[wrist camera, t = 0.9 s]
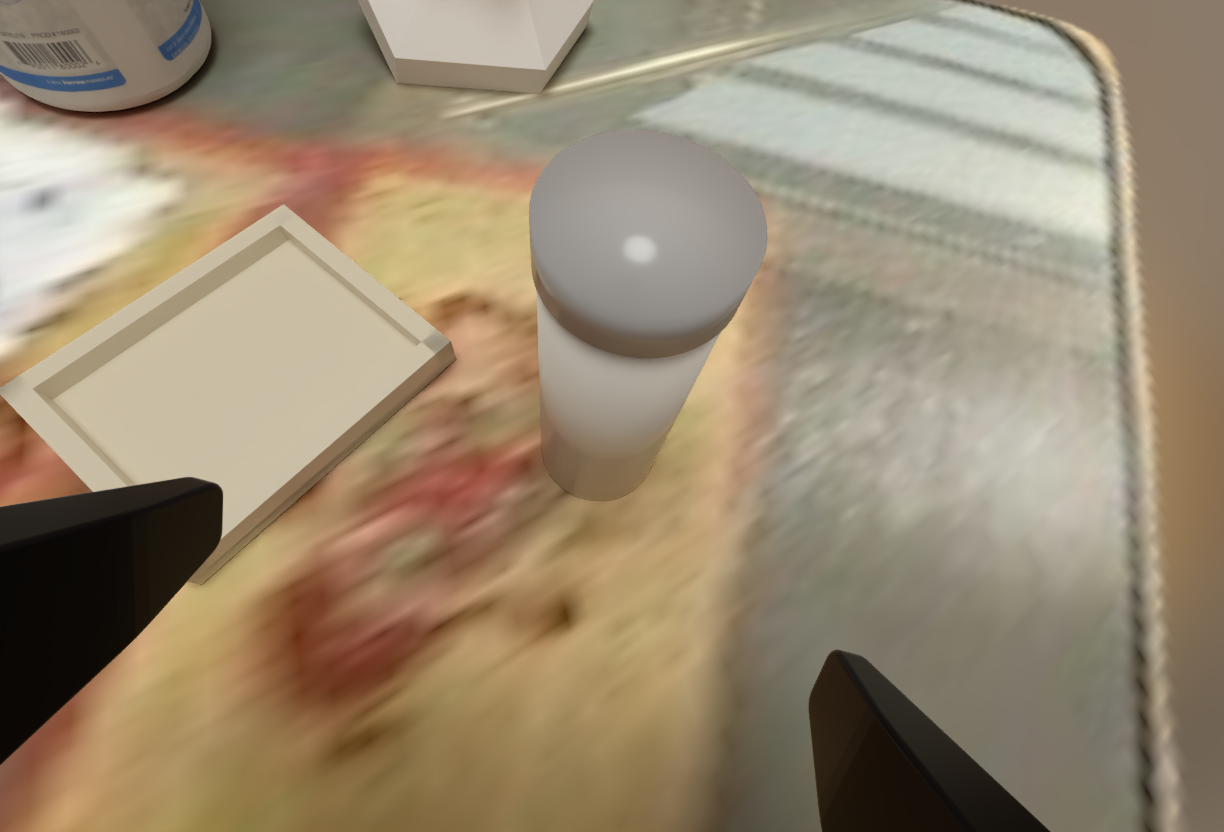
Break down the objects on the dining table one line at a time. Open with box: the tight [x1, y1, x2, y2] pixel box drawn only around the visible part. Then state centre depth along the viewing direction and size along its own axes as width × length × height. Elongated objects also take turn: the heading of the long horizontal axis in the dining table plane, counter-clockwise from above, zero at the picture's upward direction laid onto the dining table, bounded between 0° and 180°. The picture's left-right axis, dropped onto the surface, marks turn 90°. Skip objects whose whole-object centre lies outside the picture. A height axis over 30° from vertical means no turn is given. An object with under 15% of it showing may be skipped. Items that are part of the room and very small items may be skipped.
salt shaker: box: [529, 130, 767, 501], centre depth 17 cm, size 5×5×13 cm
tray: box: [0, 204, 456, 585], centre depth 22 cm, size 12×10×2 cm
